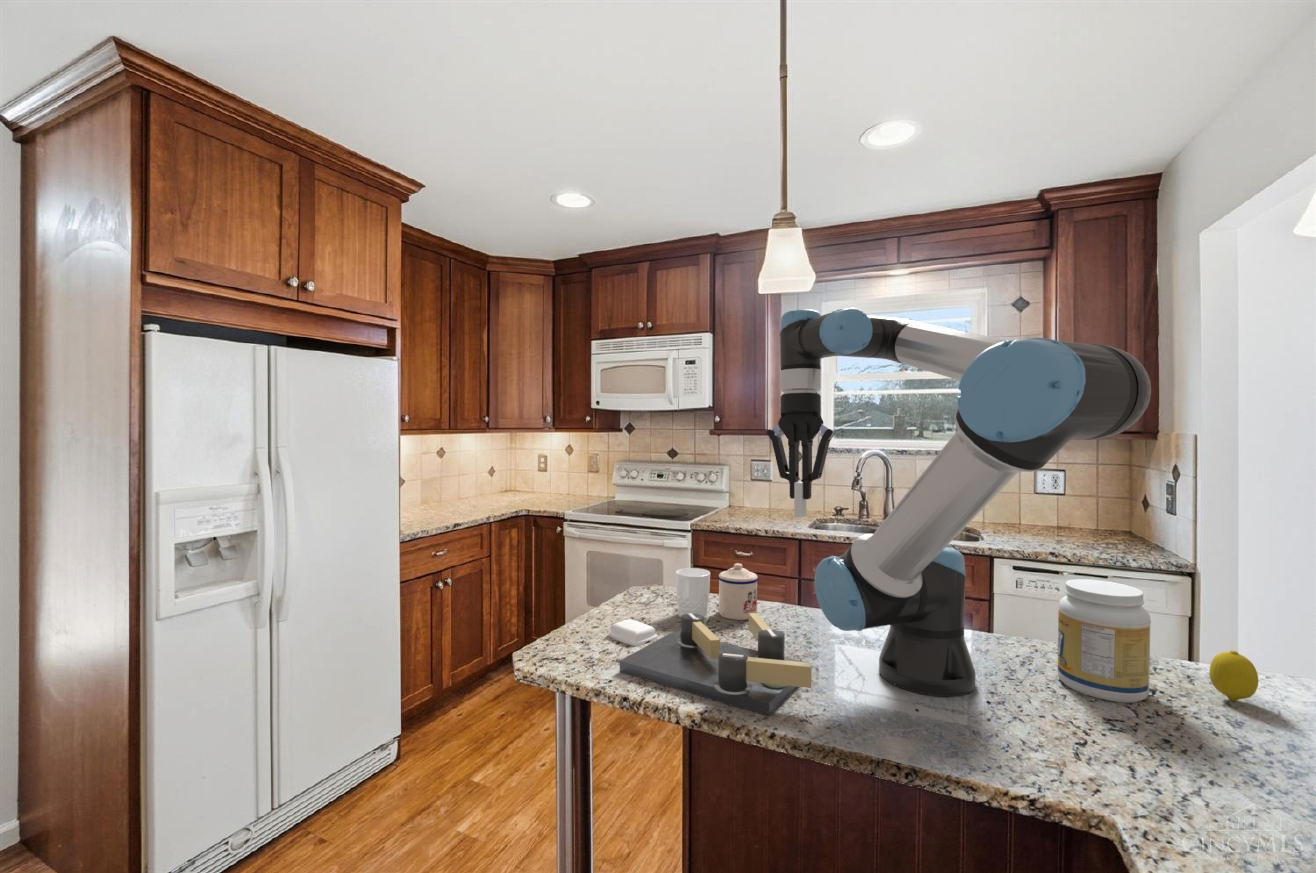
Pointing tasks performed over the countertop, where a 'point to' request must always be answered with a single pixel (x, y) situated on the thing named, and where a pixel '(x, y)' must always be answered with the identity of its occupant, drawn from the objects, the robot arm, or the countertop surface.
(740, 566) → the teacup with lid
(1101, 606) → the supplement tub
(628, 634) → the soap
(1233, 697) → the lemon
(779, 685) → the green domed button
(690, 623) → the knob
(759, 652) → the knob
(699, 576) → the white cup
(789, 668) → the knob
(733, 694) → the dark grey knob panel
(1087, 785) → the countertop surface
